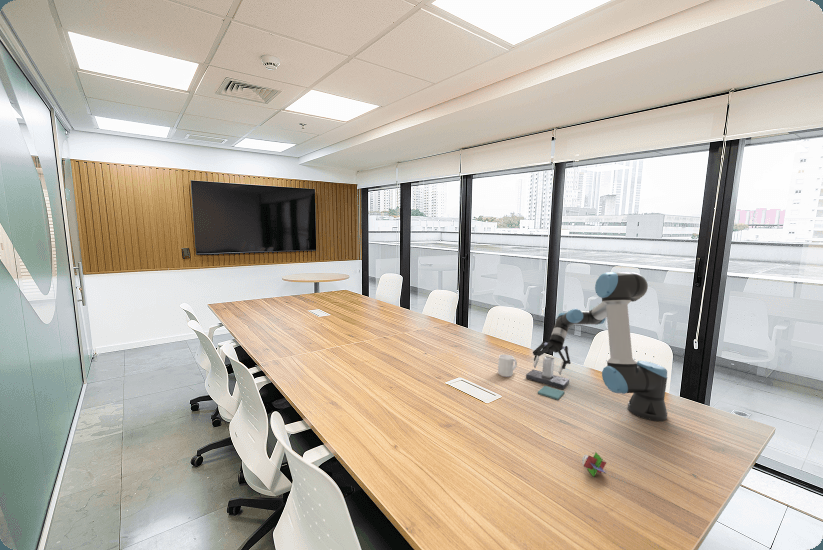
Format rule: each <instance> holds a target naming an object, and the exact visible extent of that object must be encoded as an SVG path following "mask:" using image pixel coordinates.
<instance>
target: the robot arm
mask: <svg viewBox="0 0 823 550" xmlns="http://www.w3.org/2000/svg"><path fill="white" fill-rule="evenodd" d="M648 286H649V285H648V281H647V280H646V279H645V277H644V276H643V275H641V274H639V273H637V272H621V271H620V272H617V271H611V272H610V271H609V272H603V273H602V274H600V275H598V278H597V279H596V281H595V286H594V290H595V294H596V295H597V296H598V297H599V298H601V302H600V303H599V304H597V305H596V306H595V307H593V308H591V310H580V309H578V308H571V309H570V310H568V311H567V312H560V313H559V314H558V315H557V317H556V320H555V324H554V327H553V329H552V332H551V335H550V337H549V341H548V342H546V341H545V340H543V341H542V342H541V344H540V345H538V346H537V348H535V349H534V350H533V351H532V354H533V356H534V358H533V361H534V363H533V364H532V366H533V367H534V369H536V368H537V365H538V364H539V363H538V362H539V360H540V356H542V355H545V354H546V353H547V352H551V353H556V354H557V353H558V355H559V356H560V358H561V360H562V361H561V363H560V367H559V370H558V374H559V375H562V372H563V370H565V369H566V367H567V365H571V358H570V356H569V355H570V354H569V347H568V346H567V345H565V346H564V343H565V341H566V337H567V335H568V332H569V329H570V328H571V327H573V326H575V325H595V326H596V325H602V324H604V323H605V321H607V332H608V333H607V335H608V343H609V344H608V345H609V355H610V356H609V357H610V358H609V359H608V360H606V364H607V365H606V366H604V367H603V369H602V372H601V378H602V381H603V383H604V385H605V386H606V387H607V389H608V390H609V391H610V392H612V393H615V394H625V395H626V394H632V396H631V397H630V399H629V401H628V402H627V410H628V411H629V413H631V414H632V415H634V416H636V417H639V418H642V419H645V420H646V421H647V420H648V421H654V422H663V421H666V420H667V419H668V411H667V406H666V403H665V398H666V390H667V389H666V388H667V381H668V370H667V369H666V368H665V367H664V366H662V365H660V364H657V363H654V362H651V361H647V360H638V361H636V360H635V359H634V358H633V351H632V340H631V339H632V338H631V327H630V318H629V317H630V316H629V315H630V314H629V307H628V305H629V304H630V303H631V302H636V301H638V300H640V299H641V298H643V297H644V296H645V295H646V293H647V292H648ZM606 319H607V320H606ZM562 350H563V351H564V352H565V356H564V354H563V352H562ZM565 357H566V358H565Z"/></svg>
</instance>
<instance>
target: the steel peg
mask: <svg viewBox="0 0 823 550" xmlns="http://www.w3.org/2000/svg"><path fill="white" fill-rule="evenodd" d="M542 360H543V361H542V371H541V372H542V377H544V378H547V379H552V378H553V375H554V370H555V369H554V368H555V358H554V357H550V356H545V357H543V359H542Z"/></svg>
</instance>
